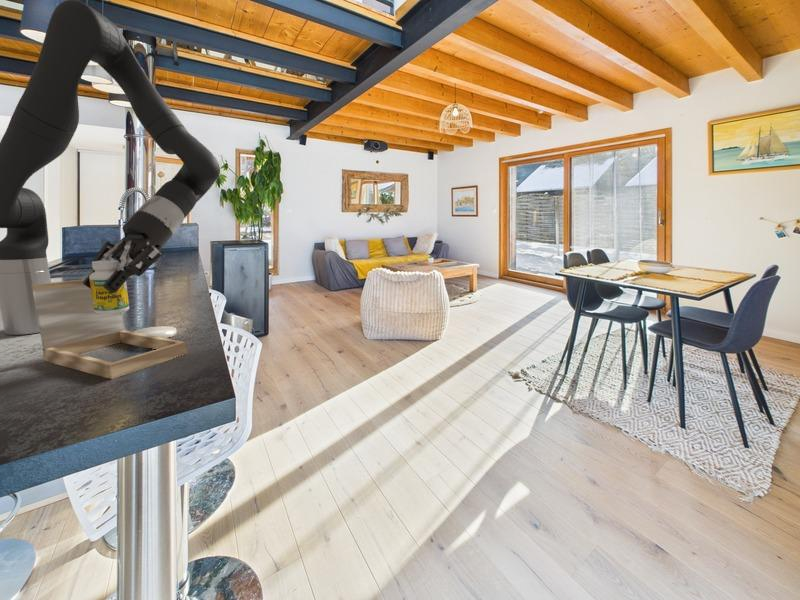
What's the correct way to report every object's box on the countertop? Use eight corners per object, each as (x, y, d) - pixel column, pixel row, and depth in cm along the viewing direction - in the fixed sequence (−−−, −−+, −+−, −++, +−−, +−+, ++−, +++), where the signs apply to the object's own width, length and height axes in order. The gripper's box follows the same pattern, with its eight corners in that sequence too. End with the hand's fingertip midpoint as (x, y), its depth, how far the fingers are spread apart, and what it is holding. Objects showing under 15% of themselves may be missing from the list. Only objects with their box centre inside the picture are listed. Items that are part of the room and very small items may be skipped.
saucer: (121, 339, 84) (120, 334, 83) (159, 329, 92) (159, 324, 91) (148, 344, 80) (147, 339, 80) (185, 333, 88) (185, 329, 88)
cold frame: (44, 361, 70) (31, 285, 67) (123, 340, 83) (114, 276, 80) (112, 379, 62) (100, 295, 60) (187, 353, 75) (180, 283, 72)
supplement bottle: (129, 307, 75) (124, 259, 73) (128, 312, 70) (123, 262, 68) (95, 309, 72) (89, 260, 70) (92, 315, 67) (85, 263, 65)
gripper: (117, 208, 76) (55, 272, 68) (166, 210, 71) (105, 279, 63) (145, 234, 82) (92, 296, 74) (192, 237, 77) (140, 304, 69)
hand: (98, 288), depth 68 cm, fingers closed on supplement bottle, 5 cm apart
